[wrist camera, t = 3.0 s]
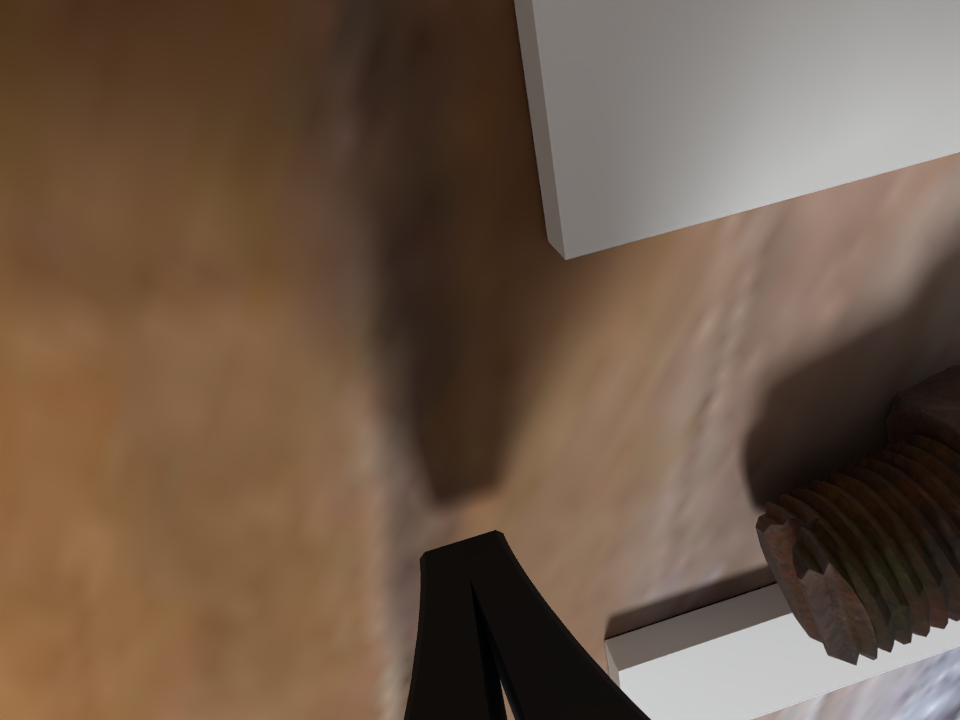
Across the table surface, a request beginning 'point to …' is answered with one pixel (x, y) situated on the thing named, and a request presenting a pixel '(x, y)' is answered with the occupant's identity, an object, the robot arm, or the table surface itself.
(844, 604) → the bolt
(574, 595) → the table surface
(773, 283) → the table surface
